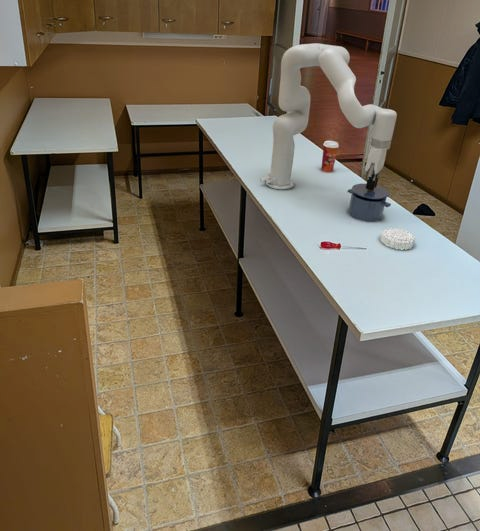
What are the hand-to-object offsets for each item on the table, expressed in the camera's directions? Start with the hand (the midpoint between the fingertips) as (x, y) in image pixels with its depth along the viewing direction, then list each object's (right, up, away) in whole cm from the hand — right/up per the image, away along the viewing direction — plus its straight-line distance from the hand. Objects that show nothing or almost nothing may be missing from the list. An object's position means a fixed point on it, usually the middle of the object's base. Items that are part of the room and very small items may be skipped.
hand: (370, 187), depth 199 cm
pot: (-1, -10, +6) cm, 12 cm away
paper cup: (-9, +16, +49) cm, 53 cm away
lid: (0, -2, +1) cm, 2 cm away
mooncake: (+6, -23, -14) cm, 27 cm away
